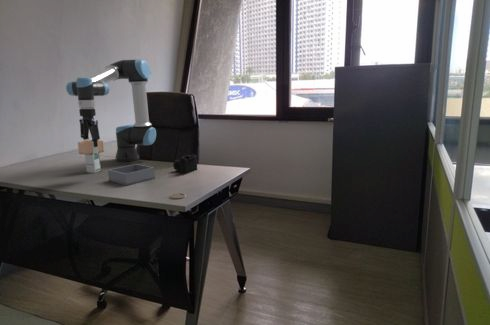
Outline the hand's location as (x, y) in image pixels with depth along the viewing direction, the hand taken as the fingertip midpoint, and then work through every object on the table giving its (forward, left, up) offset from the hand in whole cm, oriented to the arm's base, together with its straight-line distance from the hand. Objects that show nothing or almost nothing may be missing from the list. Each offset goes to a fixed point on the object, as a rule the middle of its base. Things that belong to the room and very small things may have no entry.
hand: (91, 152), depth 191 cm
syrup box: (-10, -17, -15) cm, 25 cm away
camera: (-42, +26, -15) cm, 51 cm away
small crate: (0, 0, 0) cm, 0 cm away
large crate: (-12, +17, -15) cm, 25 cm away
